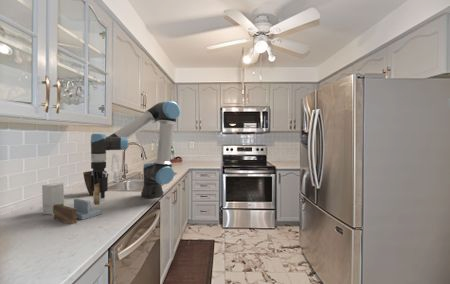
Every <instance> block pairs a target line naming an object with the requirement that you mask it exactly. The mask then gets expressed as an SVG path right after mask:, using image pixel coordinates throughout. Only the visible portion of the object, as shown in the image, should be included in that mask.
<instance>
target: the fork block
mask: <svg viewBox="0 0 450 284" xmlns="http://www.w3.org/2000/svg"><path fill="white" fill-rule="evenodd" d="M73 208H76V219H79V220H85V219H88V218H92V217H95V216H98V215H102V210H101V209H98V208H97V209H94V210H92V208H91V201H90V200H84V199H79V198H75V199H73Z"/></svg>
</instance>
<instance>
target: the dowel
mask: <svg viewBox="0 0 450 284" xmlns="http://www.w3.org/2000/svg"><path fill="white" fill-rule="evenodd" d="M99 192H100V187H99V183H98V184H94V203H93V204H94V205H96V206H99V205H102V204H99Z"/></svg>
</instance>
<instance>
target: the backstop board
mask: <svg viewBox="0 0 450 284" xmlns="http://www.w3.org/2000/svg"><path fill="white" fill-rule="evenodd" d="M53 220H56V221H58V222H59V221H60V222H64V223H66V224H70V225H74V224H77V218H76V208H74V207H72V206H71V207H70V206H66V205H64V206H63V205H59V204H56V205H54V214H53Z"/></svg>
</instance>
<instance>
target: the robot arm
mask: <svg viewBox="0 0 450 284" xmlns="http://www.w3.org/2000/svg"><path fill="white" fill-rule="evenodd" d="M180 114H181V108H180V106H179V104H178V103H176V101H173V100H169V101H168V100H166V101H163V102H158V103H156V104H154V105H153V106H152V107H150V108H148V109H147V110H146V111H145V112H144V114H142V115H140V116H139V117H138V118H136V119H134V120H133V121H130V122H129V123H128V124H126V125H124V126H123V127H120V128H119V129H118V130H117V131H115V132H113V133H112V134H109V136H108V135H107V134H106V133H92V134H91V135H90V161H91V162H90V168H91V169H92V171H93V172H89V174H90V189H91V190H92V191H93V195H92V197H93V198H92V199H93V202H92V203H93V204H94V184H98V183H99V187H100V192H99V204H101V205H103V204H105V198H106V195H105V193H106V192H107V191H109V190H108V189H109V188H108V187H109V185H108V184H109V183H108V181H109V179H108V177H109V173H105V171H106V170H105V169H106V168H107V151H124V150H125V151H127V149H128V147H129V138H131V137H132V136H134V135H136V134H137V133H139V132H140V131H141V130H144V129H145V128H146V127H147V126H149V125H150V124H155V123H157V122H158V123H159V130H158V131H159V132H158V141H157V152H156V160H155V161H154V162H148V163H144V164H143V186H142V190H141V192H140V197H141V198H144V199H157V198H162V197H163V196H164V195H165V194H164V193H165V192H164V190H163V186H162V185H168V184H171V182H172V181H173V180H174V177H175V171H174V169H173V167H172V166H173V163H172V162H171V154H172V144H173V143H172V142H173V131H174V125H175V124H176V123H177V118H179V116H180ZM100 178H101V179H100Z"/></svg>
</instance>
